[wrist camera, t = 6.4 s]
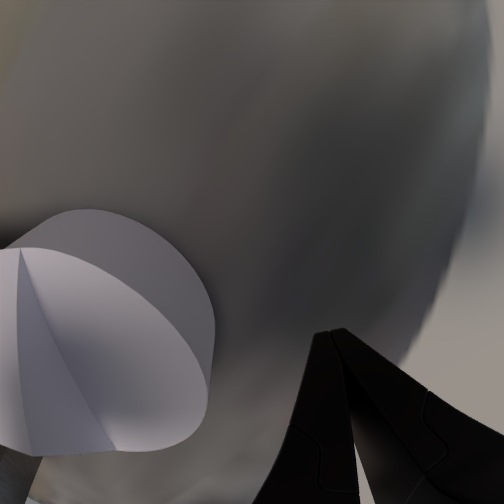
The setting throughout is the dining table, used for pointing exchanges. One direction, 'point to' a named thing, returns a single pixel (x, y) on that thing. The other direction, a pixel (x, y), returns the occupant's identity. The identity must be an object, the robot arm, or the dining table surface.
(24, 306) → the wedge on round base
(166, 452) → the dining table surface
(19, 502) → the gauge housing
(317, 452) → the robot arm
